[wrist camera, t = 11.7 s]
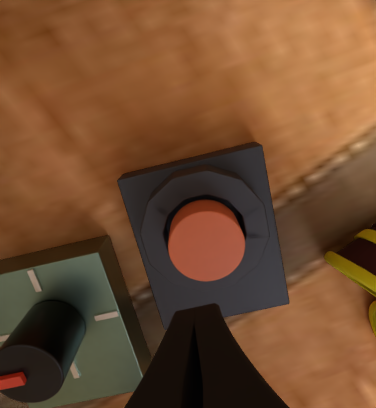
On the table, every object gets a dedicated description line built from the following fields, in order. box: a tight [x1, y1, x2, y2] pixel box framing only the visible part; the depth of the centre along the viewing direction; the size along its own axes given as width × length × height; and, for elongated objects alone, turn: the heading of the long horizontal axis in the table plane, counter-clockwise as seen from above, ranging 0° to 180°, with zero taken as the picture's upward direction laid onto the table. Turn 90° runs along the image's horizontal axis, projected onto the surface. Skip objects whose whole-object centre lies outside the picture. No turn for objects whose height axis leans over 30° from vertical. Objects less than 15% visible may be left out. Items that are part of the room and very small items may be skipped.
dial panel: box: [0, 235, 151, 408], centre depth 20 cm, size 10×8×3 cm
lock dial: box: [0, 301, 85, 403], centre depth 17 cm, size 4×4×4 cm
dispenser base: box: [117, 142, 289, 330], centre depth 18 cm, size 10×8×4 cm
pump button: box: [168, 199, 245, 281], centre depth 15 cm, size 4×4×2 cm
